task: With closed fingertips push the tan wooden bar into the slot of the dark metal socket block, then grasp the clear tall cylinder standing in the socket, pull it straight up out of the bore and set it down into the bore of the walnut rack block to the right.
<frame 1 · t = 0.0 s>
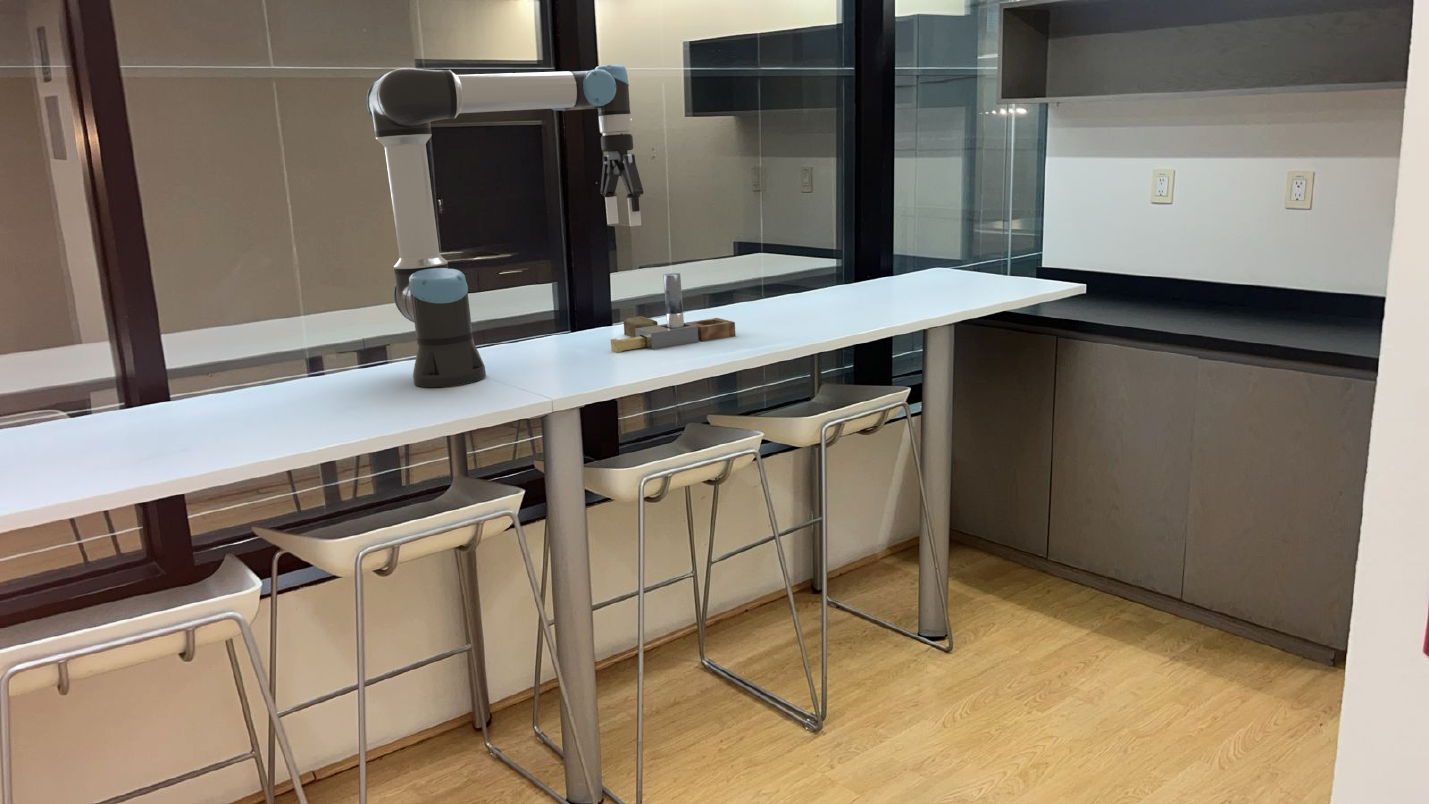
hand: (624, 224, 255), 28 cm above the table, fingers open, 13 cm apart
rack: (710, 338, 255), on the table
tan wooden bar: (630, 343, 245), point 2 cm above the table, slide at 0.0 cm
stone block: (641, 339, 262), on the table
socket: (667, 345, 250), on the table
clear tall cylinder: (676, 341, 251), point 1 cm above the table, touching socket
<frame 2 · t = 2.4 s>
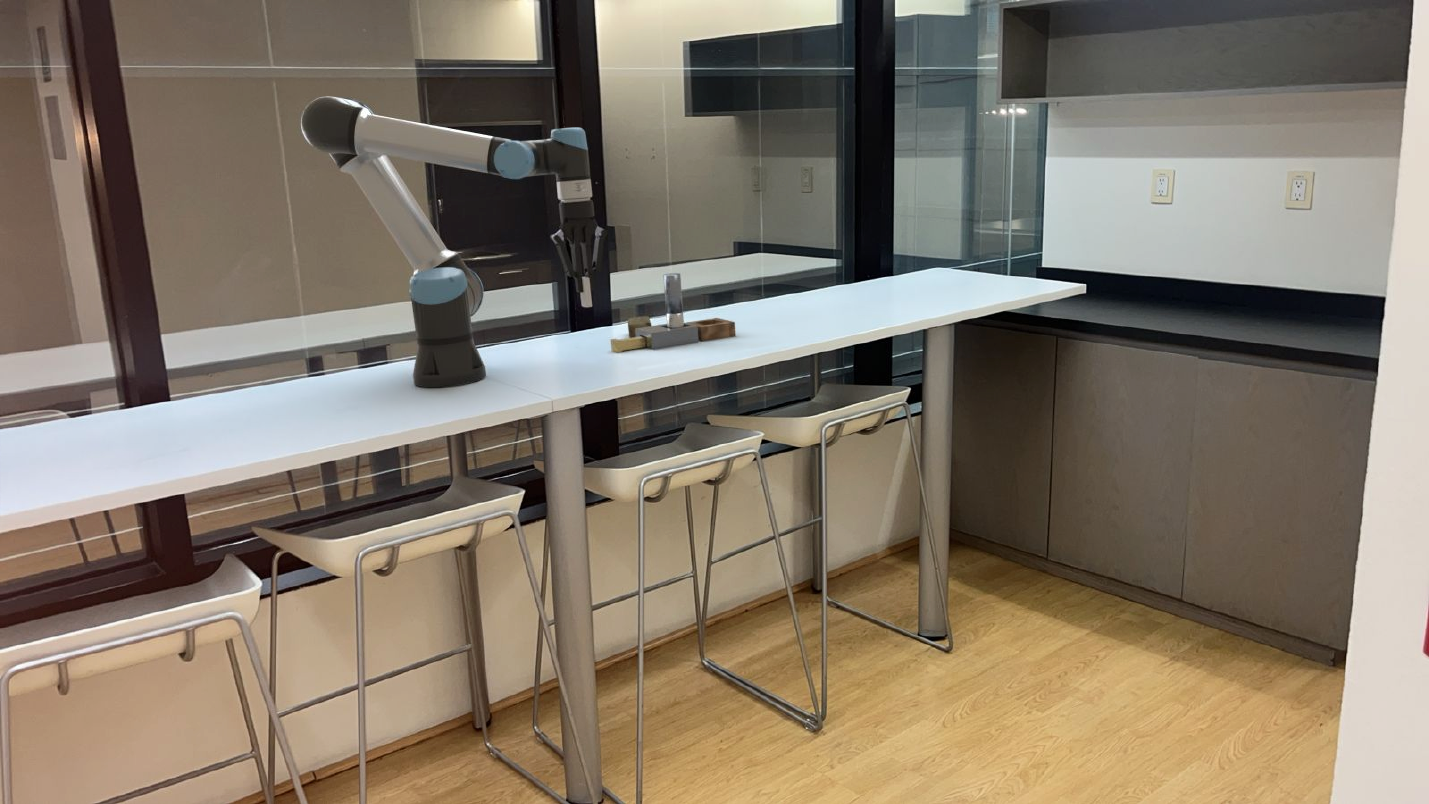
hand: (587, 306, 238), 12 cm above the table, fingers closed
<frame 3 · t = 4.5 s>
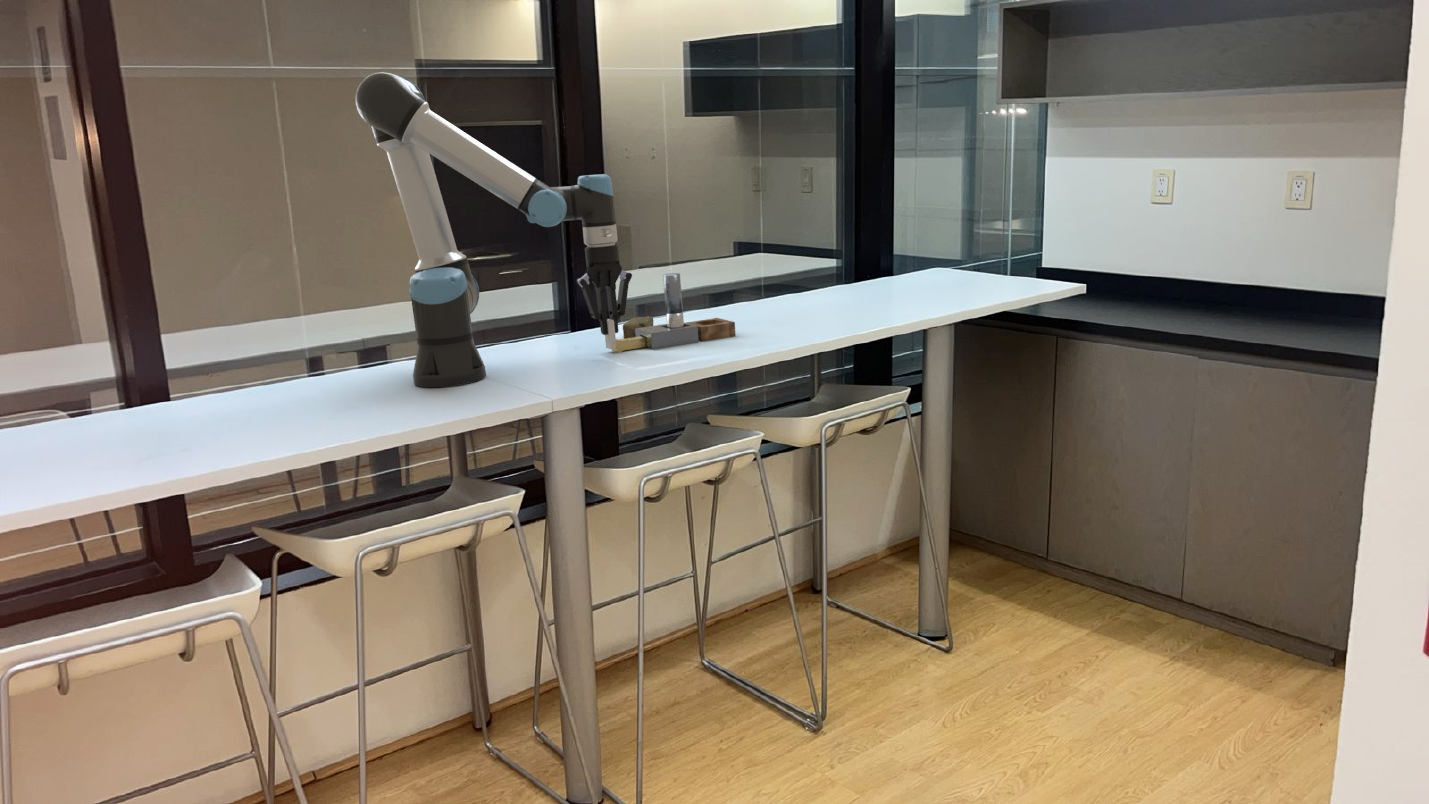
hand: (611, 347, 243), 2 cm above the table, fingers closed
tan wooden bar: (630, 343, 245), point 2 cm above the table, slide at 0.0 cm, touching gripper
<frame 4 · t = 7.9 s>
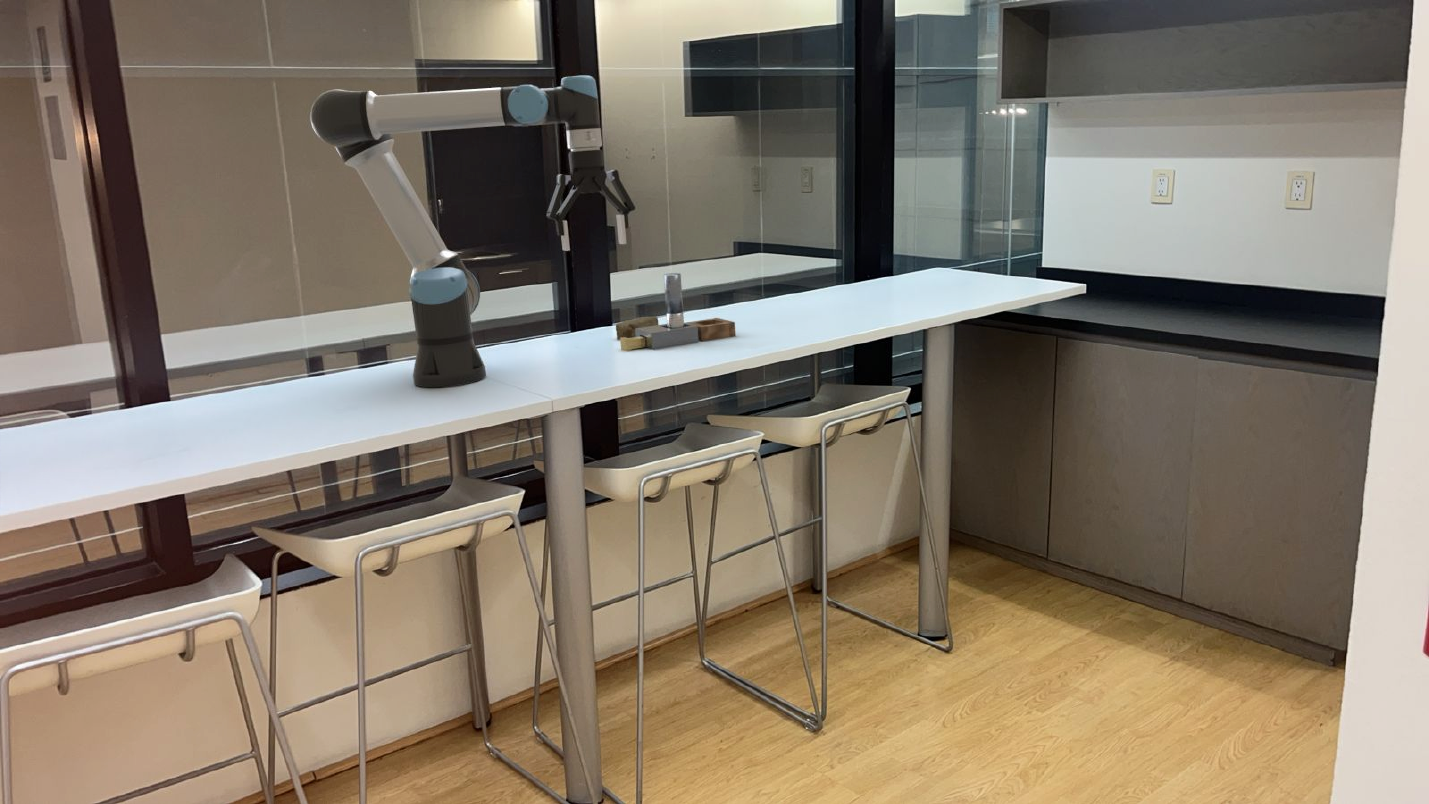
hand: (594, 247, 237), 25 cm above the table, fingers open, 13 cm apart
tan wooden bar: (640, 342, 246), point 2 cm above the table, slide at 2.4 cm
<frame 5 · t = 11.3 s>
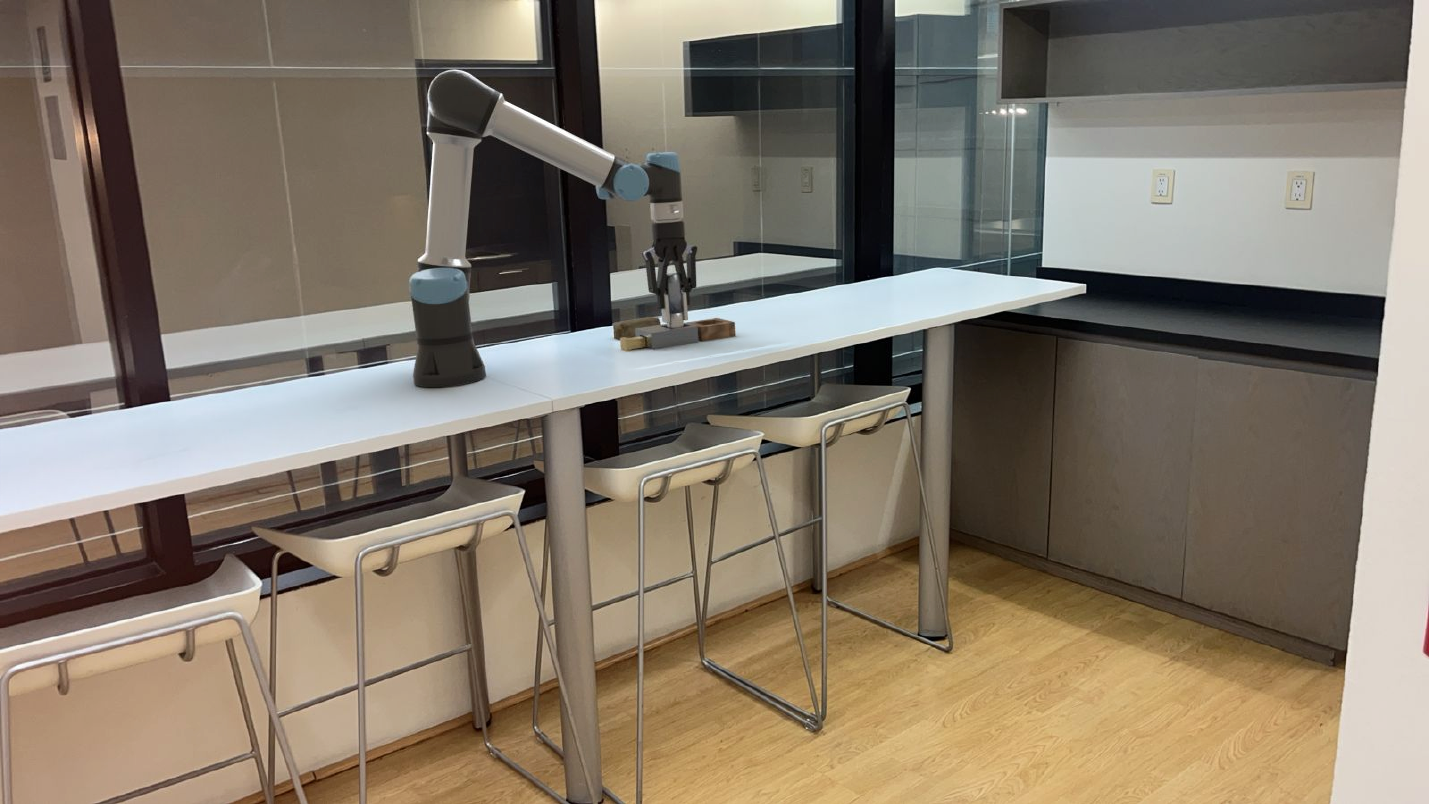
hand: (675, 320, 250), 6 cm above the table, fingers closed on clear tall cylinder, 4 cm apart
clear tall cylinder: (676, 341, 251), point 1 cm above the table, touching gripper, socket
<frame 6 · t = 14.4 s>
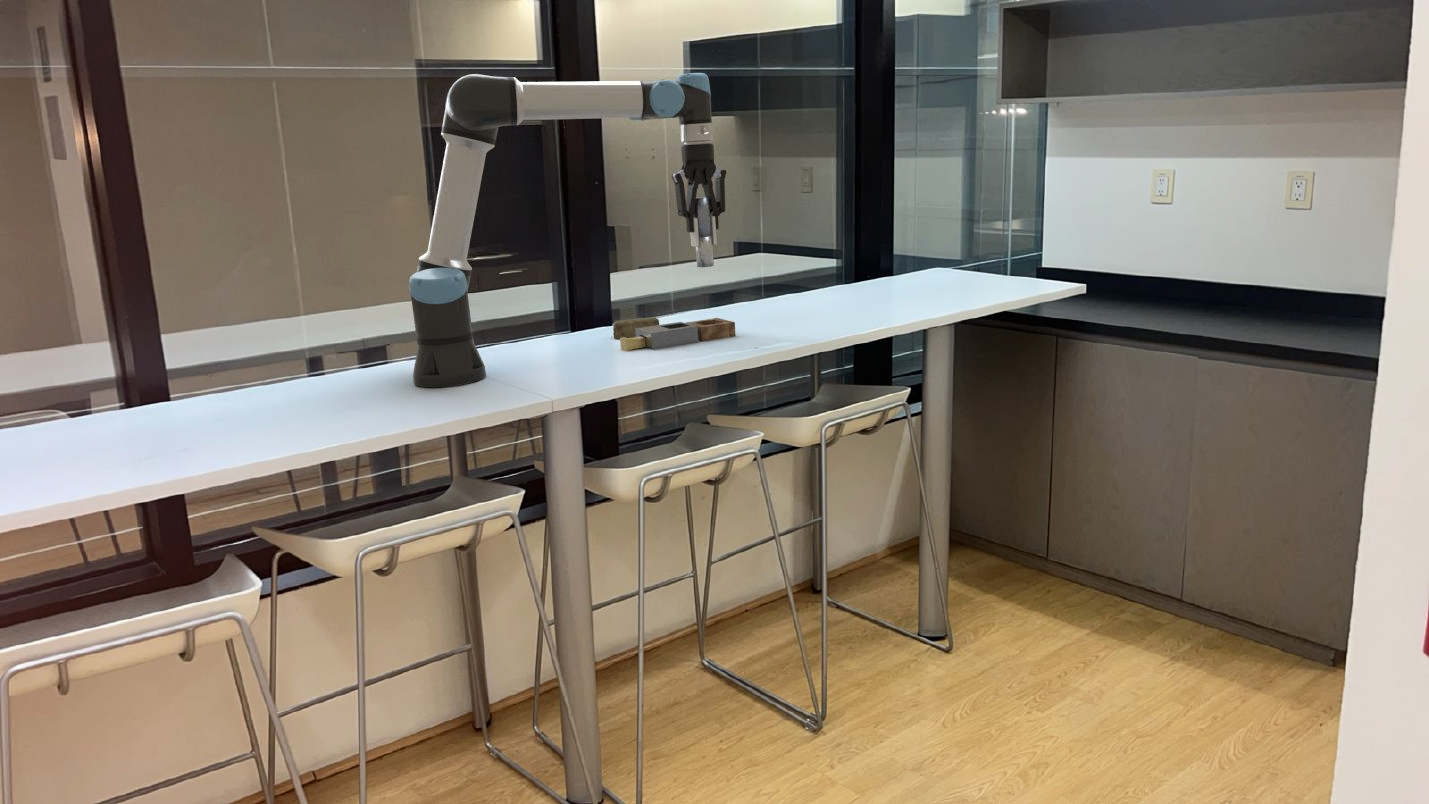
hand: (704, 244, 250), 23 cm above the table, fingers closed on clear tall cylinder, 4 cm apart
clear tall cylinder: (705, 266, 251), point 17 cm above the table, touching gripper
when the fingers open (7 cm above the table, at t = 17.5 s): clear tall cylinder drops 1 cm, resting on rack.
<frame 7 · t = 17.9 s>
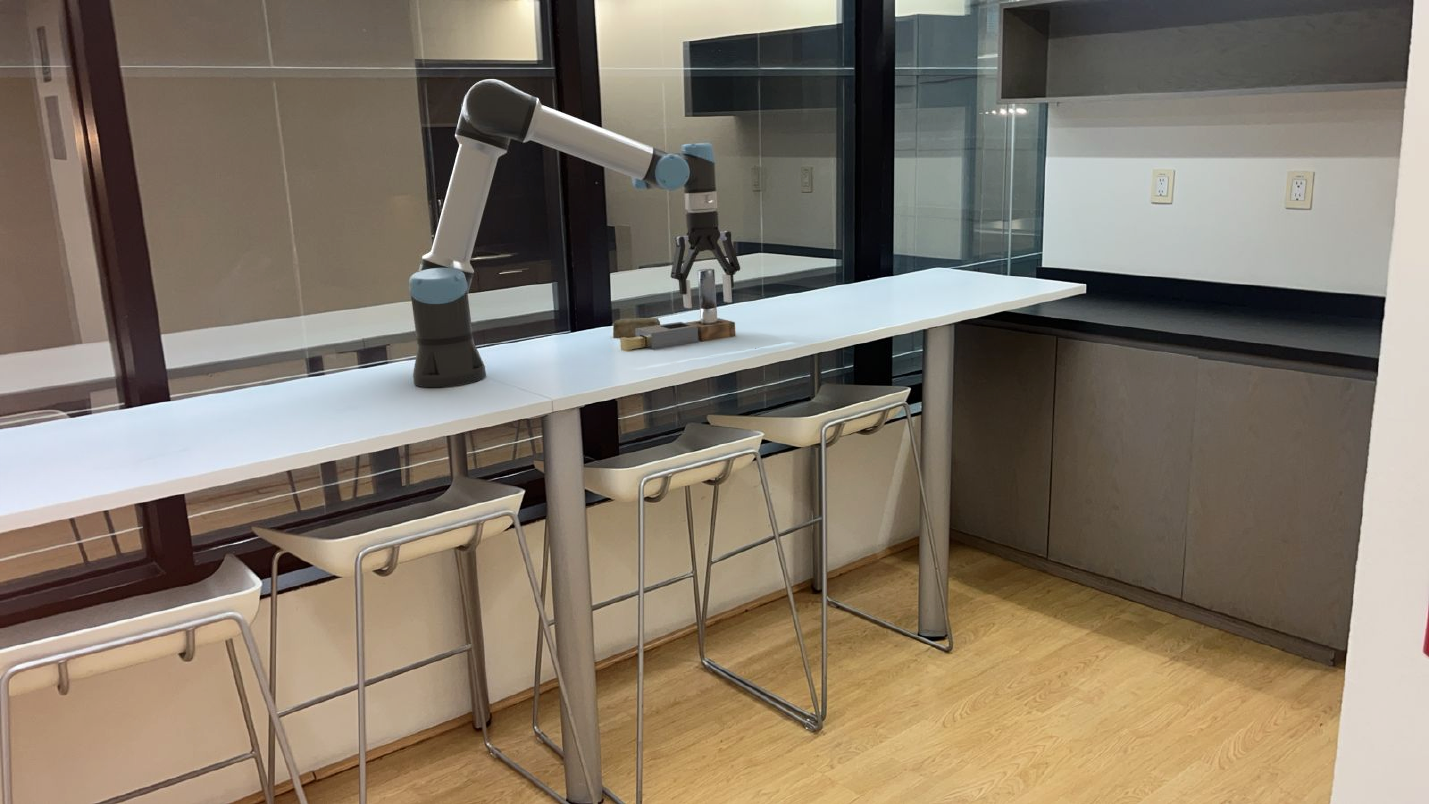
hand: (708, 304, 253), 8 cm above the table, fingers open, 10 cm apart
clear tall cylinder: (710, 336, 255), point 1 cm above the table, touching rack
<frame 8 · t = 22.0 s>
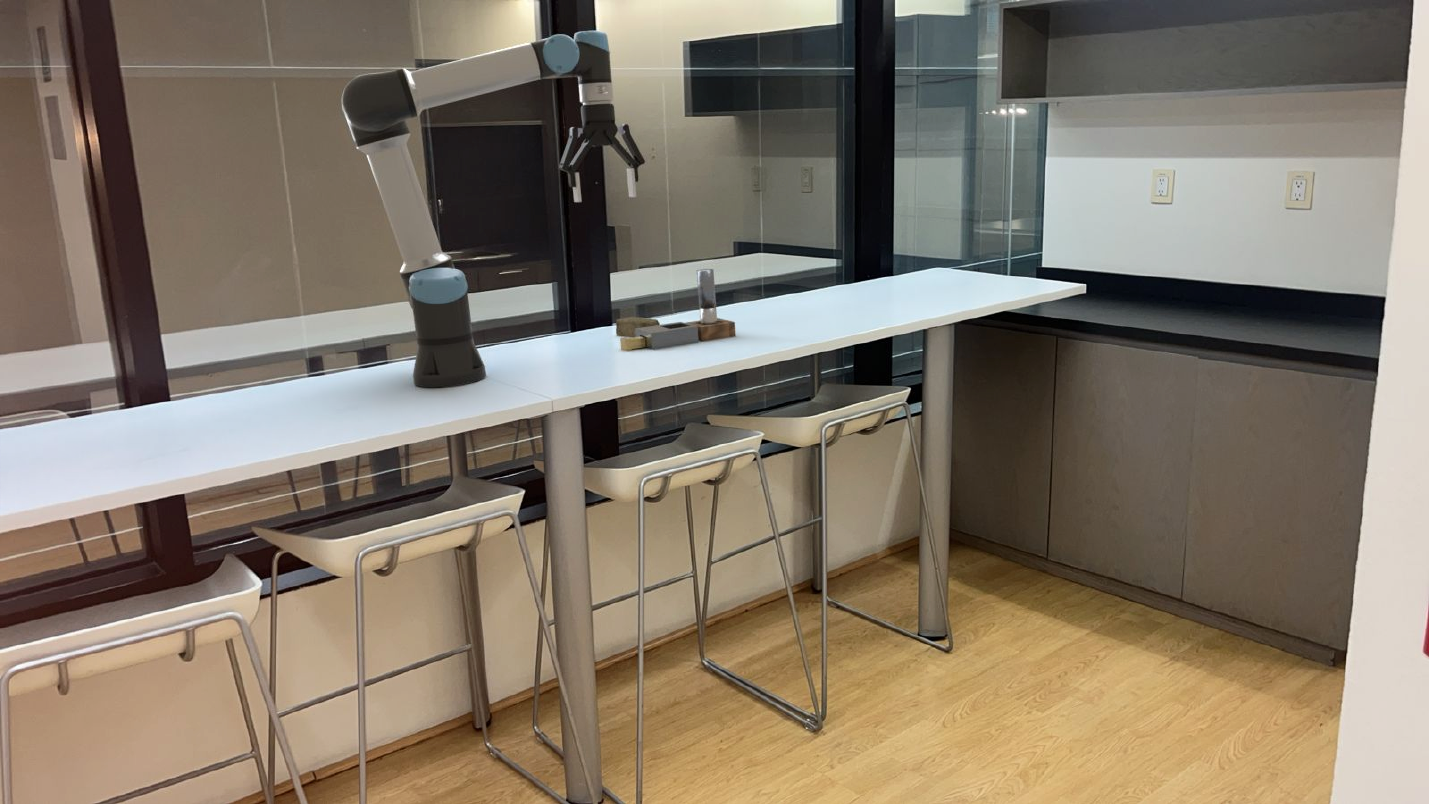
hand: (605, 199, 243), 35 cm above the table, fingers open, 13 cm apart
at the end: tan wooden bar slide at 2.4 cm; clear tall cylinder 0.1 cm off-centre on the rack, point 0.6 cm above the rack's base; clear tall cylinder tilted 1° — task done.
